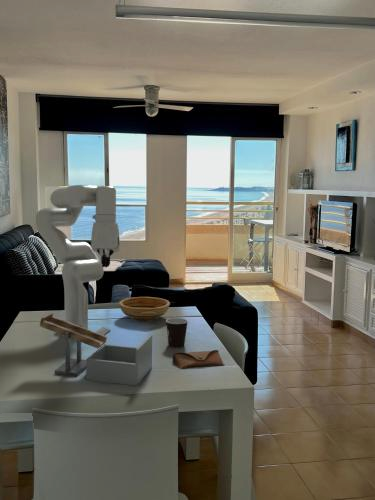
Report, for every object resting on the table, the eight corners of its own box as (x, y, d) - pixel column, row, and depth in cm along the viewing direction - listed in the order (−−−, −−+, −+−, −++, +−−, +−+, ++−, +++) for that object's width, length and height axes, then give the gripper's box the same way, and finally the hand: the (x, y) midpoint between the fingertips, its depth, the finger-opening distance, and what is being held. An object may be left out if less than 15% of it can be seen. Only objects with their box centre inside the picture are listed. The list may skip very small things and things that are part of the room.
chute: (39, 326, 164) (41, 317, 164) (62, 313, 180) (64, 305, 180) (98, 348, 160) (100, 339, 160) (116, 334, 176) (118, 326, 176)
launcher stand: (54, 373, 162) (54, 332, 160) (70, 361, 174) (70, 323, 172) (76, 376, 160) (76, 335, 158) (91, 363, 172) (91, 325, 170)
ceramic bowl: (116, 311, 244) (116, 296, 243) (164, 310, 249) (164, 294, 248) (121, 328, 215) (121, 311, 214) (175, 326, 220) (175, 309, 219)
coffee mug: (184, 349, 189) (185, 324, 188) (163, 347, 191) (163, 323, 190) (190, 340, 201) (191, 317, 199) (170, 338, 202) (170, 315, 201)
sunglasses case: (178, 369, 168) (176, 350, 171) (173, 373, 174) (171, 354, 177) (226, 365, 174) (223, 346, 176) (220, 368, 180) (217, 350, 182)
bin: (86, 379, 158) (86, 344, 156) (104, 363, 173) (104, 330, 171) (137, 385, 154) (138, 349, 152) (151, 368, 169) (152, 335, 167)
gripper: (83, 218, 181) (83, 267, 184) (121, 220, 178) (120, 269, 180) (91, 217, 188) (91, 264, 191) (127, 219, 185) (127, 266, 188)
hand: (105, 266), depth 186 cm, fingers closed
